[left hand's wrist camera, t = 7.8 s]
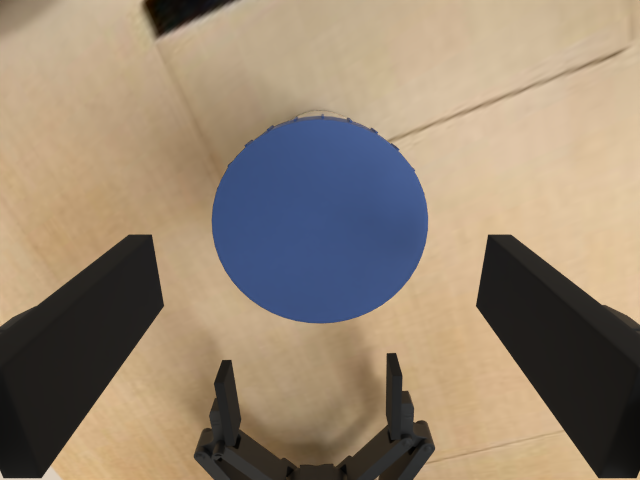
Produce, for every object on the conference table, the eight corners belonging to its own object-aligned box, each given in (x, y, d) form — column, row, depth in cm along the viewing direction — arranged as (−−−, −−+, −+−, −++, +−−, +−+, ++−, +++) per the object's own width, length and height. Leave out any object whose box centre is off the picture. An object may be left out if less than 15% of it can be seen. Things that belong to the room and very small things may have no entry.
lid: (458, 178, 18) (474, 190, 16) (353, 329, 21) (356, 354, 19) (277, 71, 16) (270, 69, 14) (191, 252, 19) (177, 270, 18)
